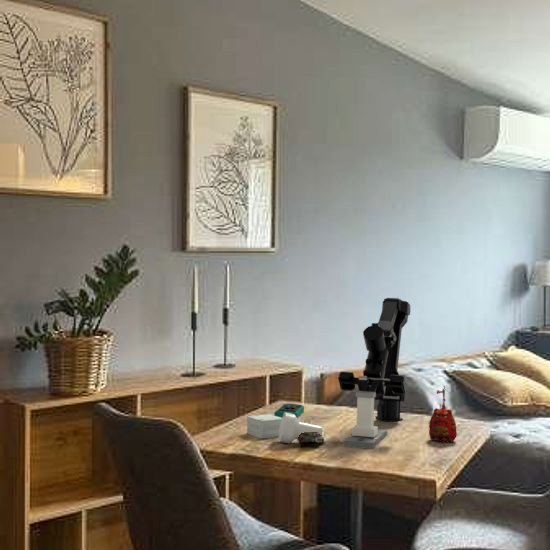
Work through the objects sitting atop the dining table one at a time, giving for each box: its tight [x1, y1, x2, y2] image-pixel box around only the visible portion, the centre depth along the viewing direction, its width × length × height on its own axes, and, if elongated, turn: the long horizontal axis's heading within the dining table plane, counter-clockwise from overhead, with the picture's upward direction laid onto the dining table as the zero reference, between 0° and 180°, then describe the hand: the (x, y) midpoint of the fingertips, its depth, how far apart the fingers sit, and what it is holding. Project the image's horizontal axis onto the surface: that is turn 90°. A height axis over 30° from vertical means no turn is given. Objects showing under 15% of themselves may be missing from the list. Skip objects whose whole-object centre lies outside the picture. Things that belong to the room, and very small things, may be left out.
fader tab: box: [351, 390, 379, 437], centre depth 219 cm, size 5×6×12 cm
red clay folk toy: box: [428, 385, 458, 443], centre depth 222 cm, size 8×7×15 cm
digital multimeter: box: [273, 403, 305, 419], centre depth 256 cm, size 7×15×3 cm, turn 169°
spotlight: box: [278, 412, 323, 445], centre depth 216 cm, size 8×11×8 cm
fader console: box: [343, 428, 388, 450], centre depth 220 cm, size 18×8×2 cm, turn 161°
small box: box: [246, 413, 282, 439], centre depth 225 cm, size 8×8×5 cm
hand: (366, 406), depth 220 cm, fingers closed, pressing on fader tab
